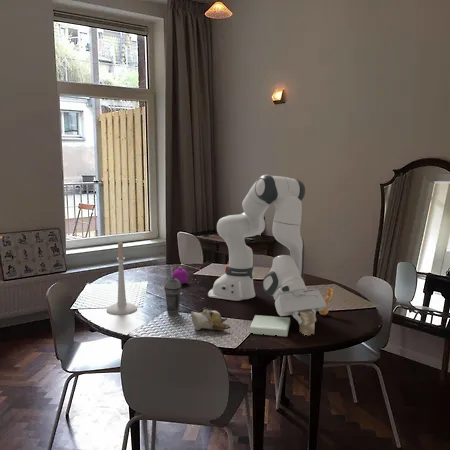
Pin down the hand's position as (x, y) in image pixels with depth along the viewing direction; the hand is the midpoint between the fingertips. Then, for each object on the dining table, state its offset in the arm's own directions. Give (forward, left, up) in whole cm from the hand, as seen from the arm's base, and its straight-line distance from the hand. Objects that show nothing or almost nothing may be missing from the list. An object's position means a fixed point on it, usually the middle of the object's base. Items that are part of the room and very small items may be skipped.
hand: (308, 322), depth 182 cm
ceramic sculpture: (-37, -3, -5) cm, 38 cm away
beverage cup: (-56, +11, -5) cm, 57 cm away
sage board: (-14, +3, -4) cm, 15 cm away
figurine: (+7, +24, -5) cm, 25 cm away
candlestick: (-79, +11, -5) cm, 80 cm away
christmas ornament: (-67, +57, -5) cm, 88 cm away
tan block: (0, +1, -4) cm, 4 cm away
